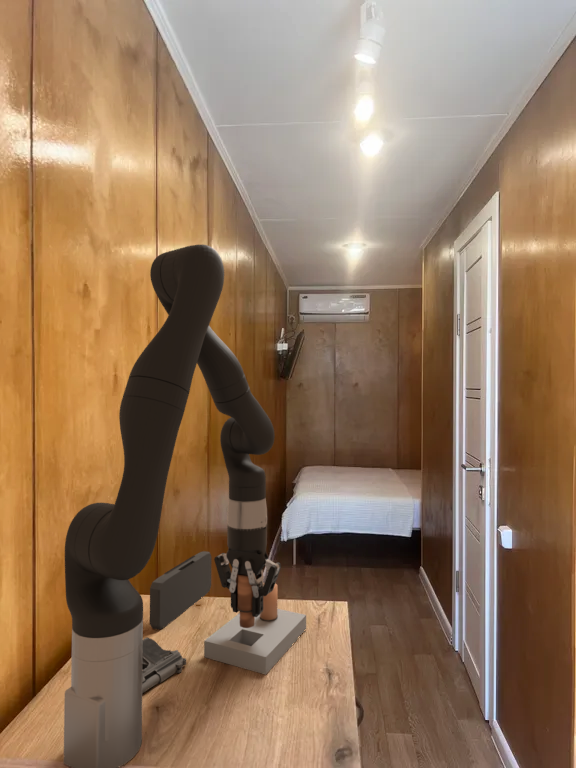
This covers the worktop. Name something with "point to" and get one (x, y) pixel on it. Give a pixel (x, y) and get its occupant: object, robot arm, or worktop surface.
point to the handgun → (158, 664)
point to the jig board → (257, 637)
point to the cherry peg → (245, 602)
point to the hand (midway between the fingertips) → (247, 612)
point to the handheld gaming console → (179, 589)
